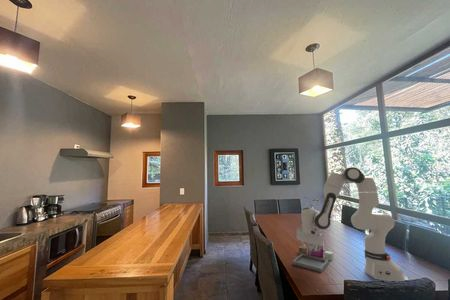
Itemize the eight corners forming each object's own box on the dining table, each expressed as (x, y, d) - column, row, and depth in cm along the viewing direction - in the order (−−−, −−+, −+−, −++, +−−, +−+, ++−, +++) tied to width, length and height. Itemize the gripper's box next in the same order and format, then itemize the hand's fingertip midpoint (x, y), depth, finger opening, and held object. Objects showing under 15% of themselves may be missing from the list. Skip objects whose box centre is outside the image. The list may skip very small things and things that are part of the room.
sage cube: (333, 258, 160) (332, 252, 160) (331, 261, 156) (331, 254, 157) (326, 257, 163) (326, 250, 164) (324, 259, 159) (324, 252, 160)
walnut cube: (307, 253, 172) (306, 247, 173) (304, 255, 168) (304, 248, 169) (301, 251, 175) (300, 245, 176) (299, 253, 172) (298, 247, 172)
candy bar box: (308, 256, 166) (307, 235, 168) (308, 253, 170) (307, 233, 172) (323, 257, 162) (322, 236, 164) (323, 255, 167) (321, 234, 169)
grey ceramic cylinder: (325, 250, 178) (324, 241, 178) (323, 252, 174) (323, 243, 175) (319, 249, 181) (318, 240, 182) (317, 250, 177) (316, 242, 178)
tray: (328, 263, 152) (328, 260, 152) (321, 272, 138) (321, 268, 138) (301, 256, 165) (301, 253, 165) (292, 264, 151) (292, 261, 151)
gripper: (294, 227, 160) (295, 246, 158) (318, 232, 143) (320, 253, 141) (299, 226, 164) (300, 244, 162) (323, 231, 147) (325, 252, 145)
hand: (309, 249), depth 151 cm, fingers open, 8 cm apart
